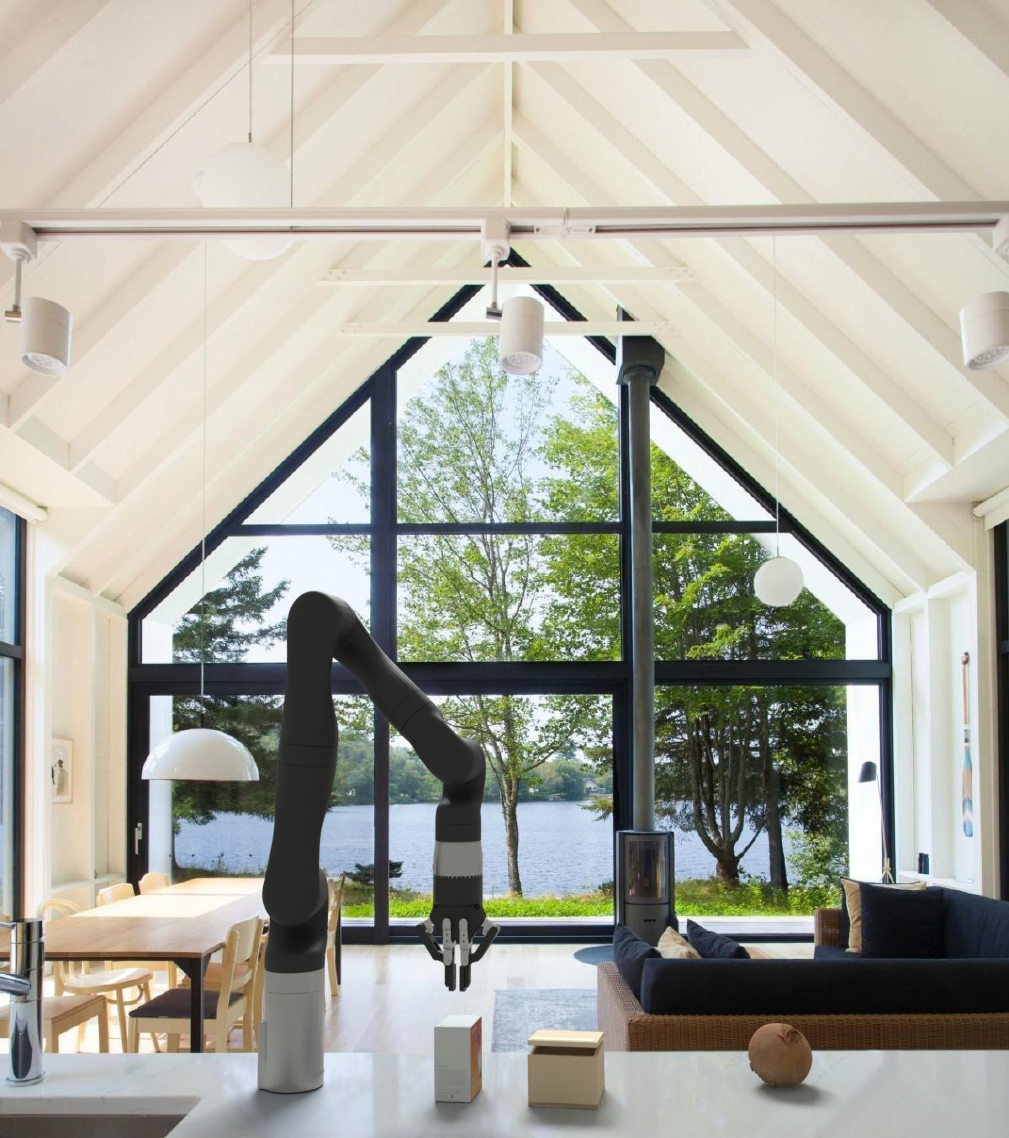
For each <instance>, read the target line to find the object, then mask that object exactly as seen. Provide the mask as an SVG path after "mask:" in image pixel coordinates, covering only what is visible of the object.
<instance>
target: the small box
mask: <svg viewBox="0 0 1009 1138" xmlns="http://www.w3.org/2000/svg"><path fill="white" fill-rule="evenodd" d="M482 1019H483V1016H482V1015H471V1014H470V1015H468V1014H467V1015H465V1014H464V1015H463V1014H462V1015H461V1014H447V1015H446V1016H445V1017H444V1018H443V1019H442V1020H441V1021H440V1022H438V1023H437V1024H436V1025H435V1026H433V1027H434V1028H433V1030H434V1031H433V1036H434V1037H433V1041H434V1042H433V1053H434V1055H433V1066H434V1067H433V1070H434V1071H433V1075H434V1076H433V1079H434V1080H433V1088H434V1094H433V1095H434V1096H433V1097H434V1101H435V1102H447V1103H449V1102H450V1103H472V1101H473V1100H474V1099H475V1097H476V1096H477V1095H478V1094H479V1092H480V1091H481V1090H482V1089H483V1075H482V1074H483V1052H482V1051H483V1046H482V1045H483V1044H482V1043H483V1032H482V1031H483V1028H482V1027H483V1024H482V1023H483V1020H482Z"/></svg>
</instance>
